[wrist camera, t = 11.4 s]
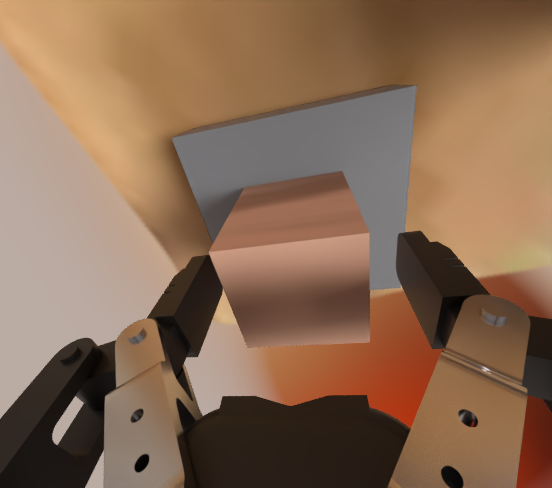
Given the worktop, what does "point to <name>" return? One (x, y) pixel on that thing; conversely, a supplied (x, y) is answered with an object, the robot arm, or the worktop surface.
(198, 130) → the charcoal base
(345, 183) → the terracotta block
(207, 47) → the worktop surface
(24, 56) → the worktop surface
